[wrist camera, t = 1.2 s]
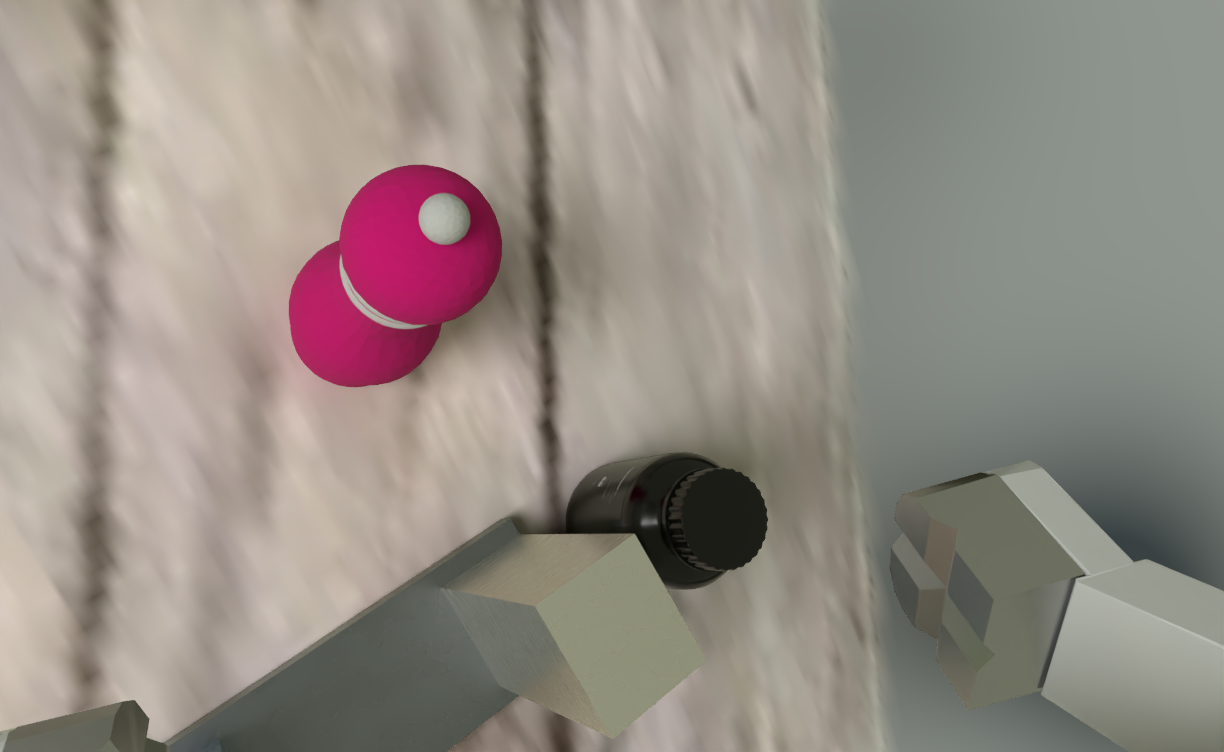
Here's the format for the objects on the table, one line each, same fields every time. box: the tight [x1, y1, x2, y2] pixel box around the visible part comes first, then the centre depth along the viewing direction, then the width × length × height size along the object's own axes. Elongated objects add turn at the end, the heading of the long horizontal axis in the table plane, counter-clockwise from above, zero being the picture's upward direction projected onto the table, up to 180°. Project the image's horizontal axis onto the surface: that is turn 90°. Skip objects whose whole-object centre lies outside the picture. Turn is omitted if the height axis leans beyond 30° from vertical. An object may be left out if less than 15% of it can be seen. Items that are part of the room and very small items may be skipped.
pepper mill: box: [289, 165, 502, 387], centre depth 40 cm, size 7×7×20 cm
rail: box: [163, 518, 707, 752], centre depth 40 cm, size 22×8×16 cm, turn 123°
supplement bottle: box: [566, 452, 768, 590], centre depth 49 cm, size 7×7×12 cm
